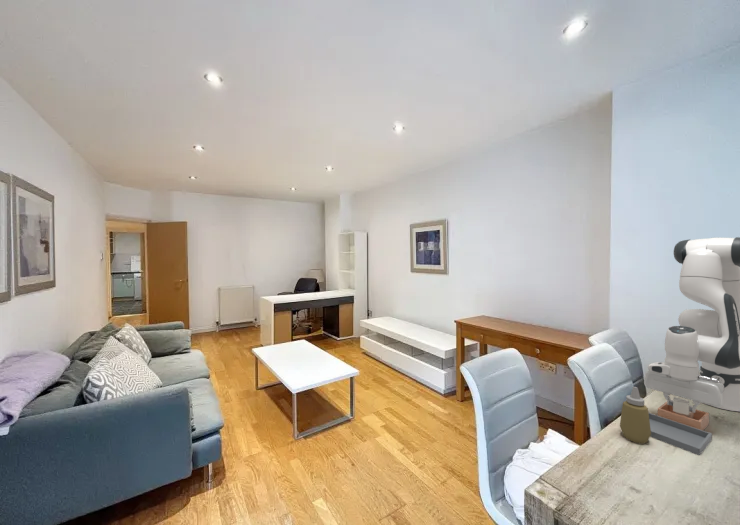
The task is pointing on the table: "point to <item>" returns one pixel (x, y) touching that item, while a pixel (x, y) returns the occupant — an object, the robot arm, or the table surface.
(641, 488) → the table surface
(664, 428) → the tray
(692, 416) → the white cube
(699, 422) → the bin
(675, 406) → the block
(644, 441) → the squeeze bottle
